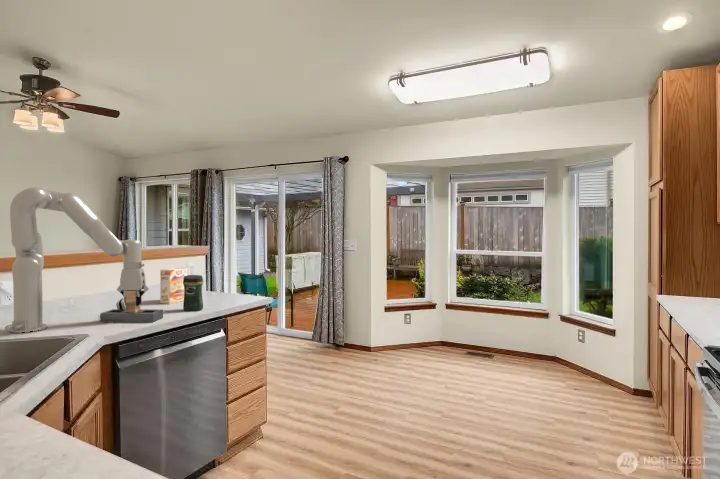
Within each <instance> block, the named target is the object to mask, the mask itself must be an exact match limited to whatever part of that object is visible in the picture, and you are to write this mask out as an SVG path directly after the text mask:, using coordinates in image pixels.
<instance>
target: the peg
mask: <svg viewBox="0 0 720 479" xmlns="http://www.w3.org/2000/svg"><path fill="white" fill-rule="evenodd" d="M136 297H137V293H136V290H134V291H129V290H128V291H125V298H126V313H136V312H138V311H140V307H141V304H140V305H136Z"/></svg>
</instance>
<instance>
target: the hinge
mask: <svg viewBox="0 0 720 479" xmlns="http://www.w3.org/2000/svg"><path fill="white" fill-rule="evenodd" d="M115 304H116V305H115V306H116V309H126V305H125V303H124V297H123V296H122V297H121V298H119V299H118V300H117V302H116V303H115ZM140 309H143V308H142V306H140Z"/></svg>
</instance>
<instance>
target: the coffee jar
mask: <svg viewBox="0 0 720 479" xmlns="http://www.w3.org/2000/svg"><path fill="white" fill-rule="evenodd" d="M203 284H204V280H203V276H202V275H201V274H200V275H199V274H188V275H187V276H184V279H183V285H184V301H183V305H182V307H183V311H186V312H196V311H202V310H203V309H204V299H203V292H202V291H203V290H202V289H203Z"/></svg>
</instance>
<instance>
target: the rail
mask: <svg viewBox="0 0 720 479" xmlns="http://www.w3.org/2000/svg"><path fill="white" fill-rule="evenodd" d="M99 314H100V316H99V317H100V318H99V319H100V323H155V322H157V321H159V320H161V319H163V318H164V309H159V308H158V309H157V308H156V309H146V308H145V309H143V308H142V309H140V311H138V312H136V313H126V309H117V308H116V309H114V308H112V309H110V310H109V309H108V310H105V311H103V312H100V313H99Z"/></svg>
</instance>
